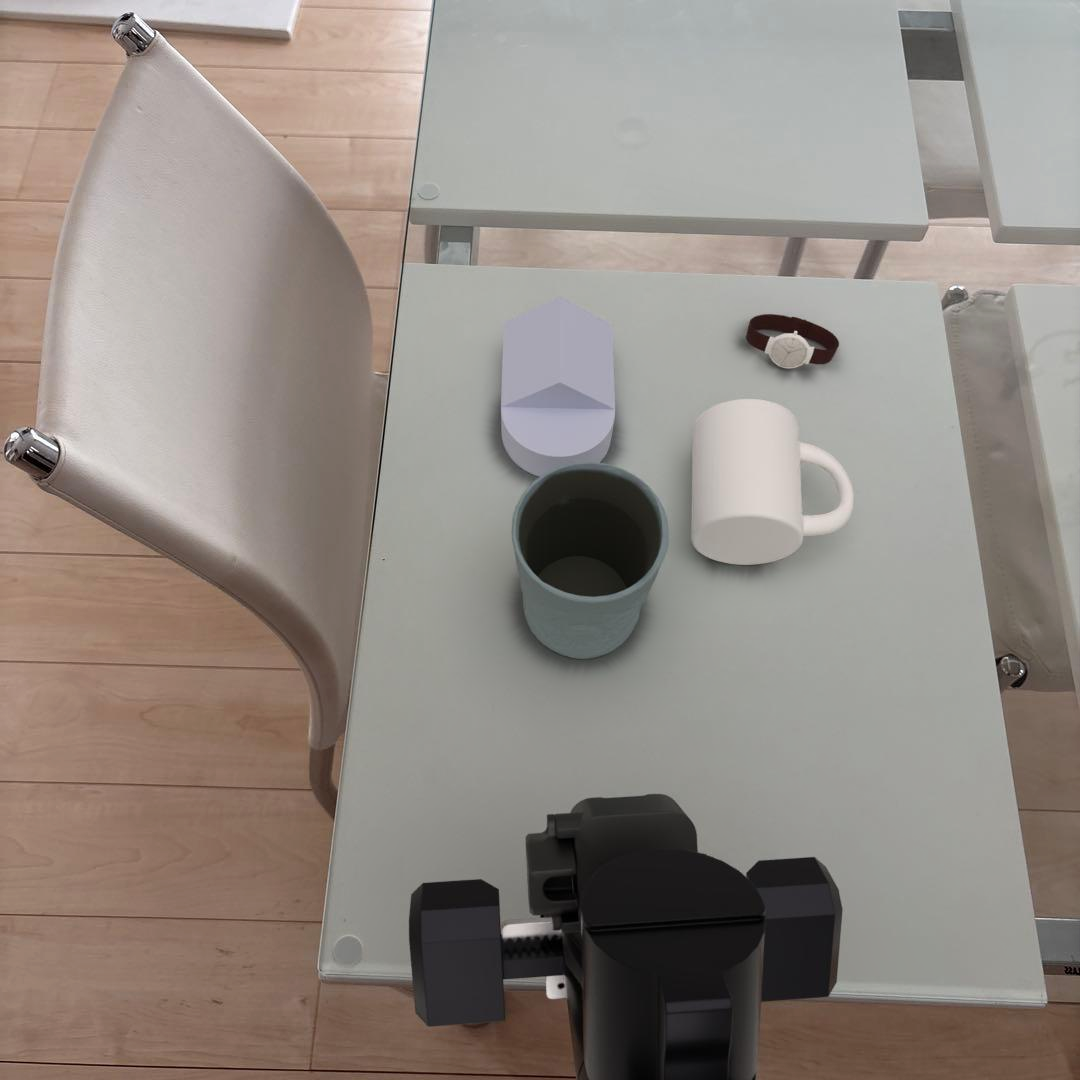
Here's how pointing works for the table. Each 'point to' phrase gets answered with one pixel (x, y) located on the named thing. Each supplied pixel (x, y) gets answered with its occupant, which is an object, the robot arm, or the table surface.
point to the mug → (756, 484)
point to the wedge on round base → (557, 387)
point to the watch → (791, 340)
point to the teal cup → (587, 555)
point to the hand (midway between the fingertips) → (600, 830)
